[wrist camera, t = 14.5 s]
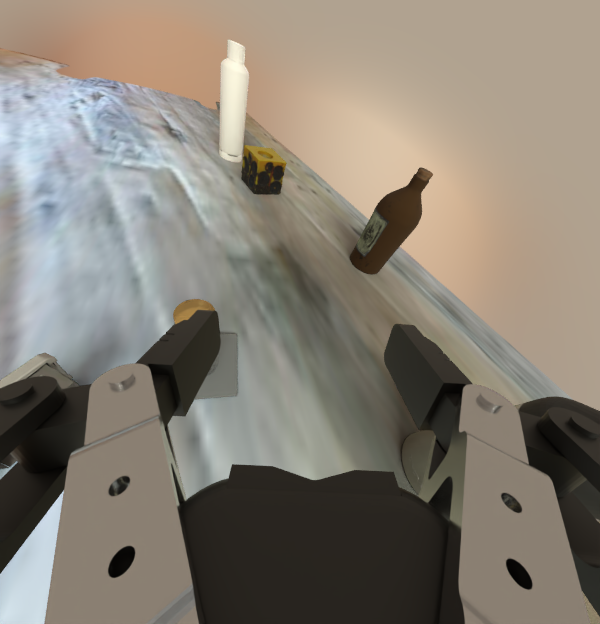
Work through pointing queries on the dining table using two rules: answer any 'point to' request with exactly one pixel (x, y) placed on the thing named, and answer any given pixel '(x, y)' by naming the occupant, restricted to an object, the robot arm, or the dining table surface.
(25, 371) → the electrical switch
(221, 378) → the mat
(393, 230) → the olive oil
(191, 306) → the canister
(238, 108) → the bottle
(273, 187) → the yellow black spotted box
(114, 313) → the dining table surface
